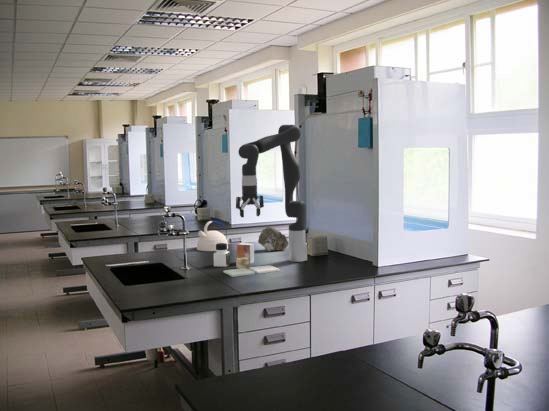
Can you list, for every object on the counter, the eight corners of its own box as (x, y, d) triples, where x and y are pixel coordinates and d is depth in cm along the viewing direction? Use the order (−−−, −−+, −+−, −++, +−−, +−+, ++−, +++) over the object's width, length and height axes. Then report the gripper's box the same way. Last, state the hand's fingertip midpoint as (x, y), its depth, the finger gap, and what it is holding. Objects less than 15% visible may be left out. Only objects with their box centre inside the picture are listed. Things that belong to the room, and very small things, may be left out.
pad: (269, 267, 293) (269, 265, 293) (279, 271, 282) (279, 269, 282) (248, 269, 288) (248, 267, 288) (258, 273, 277) (258, 271, 277)
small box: (237, 263, 305) (236, 244, 305) (241, 261, 311) (240, 242, 310) (250, 264, 302) (249, 244, 302) (254, 262, 308) (254, 243, 307)
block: (245, 266, 296) (244, 257, 296) (248, 268, 292) (248, 258, 291) (236, 267, 294) (236, 258, 293) (240, 269, 289) (239, 259, 289)
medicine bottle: (226, 266, 296) (225, 244, 295) (213, 266, 298) (213, 244, 297) (230, 264, 303) (229, 242, 302) (217, 263, 305) (217, 242, 304)
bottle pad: (245, 269, 287) (245, 268, 287) (254, 274, 276) (254, 272, 276) (223, 272, 282) (223, 270, 282) (232, 276, 271) (232, 274, 271)
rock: (271, 224, 334) (267, 217, 348) (255, 242, 335) (251, 234, 349) (292, 243, 339) (288, 235, 354) (277, 260, 341) (273, 252, 355)
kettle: (189, 249, 356) (189, 221, 354) (215, 245, 370) (215, 218, 368) (208, 252, 341) (207, 223, 339) (235, 248, 355) (234, 220, 353)
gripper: (259, 183, 285) (259, 215, 286) (233, 184, 278) (234, 217, 280) (265, 184, 278) (266, 216, 279) (239, 185, 272) (239, 218, 273)
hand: (250, 216), depth 280 cm, fingers open, 8 cm apart
